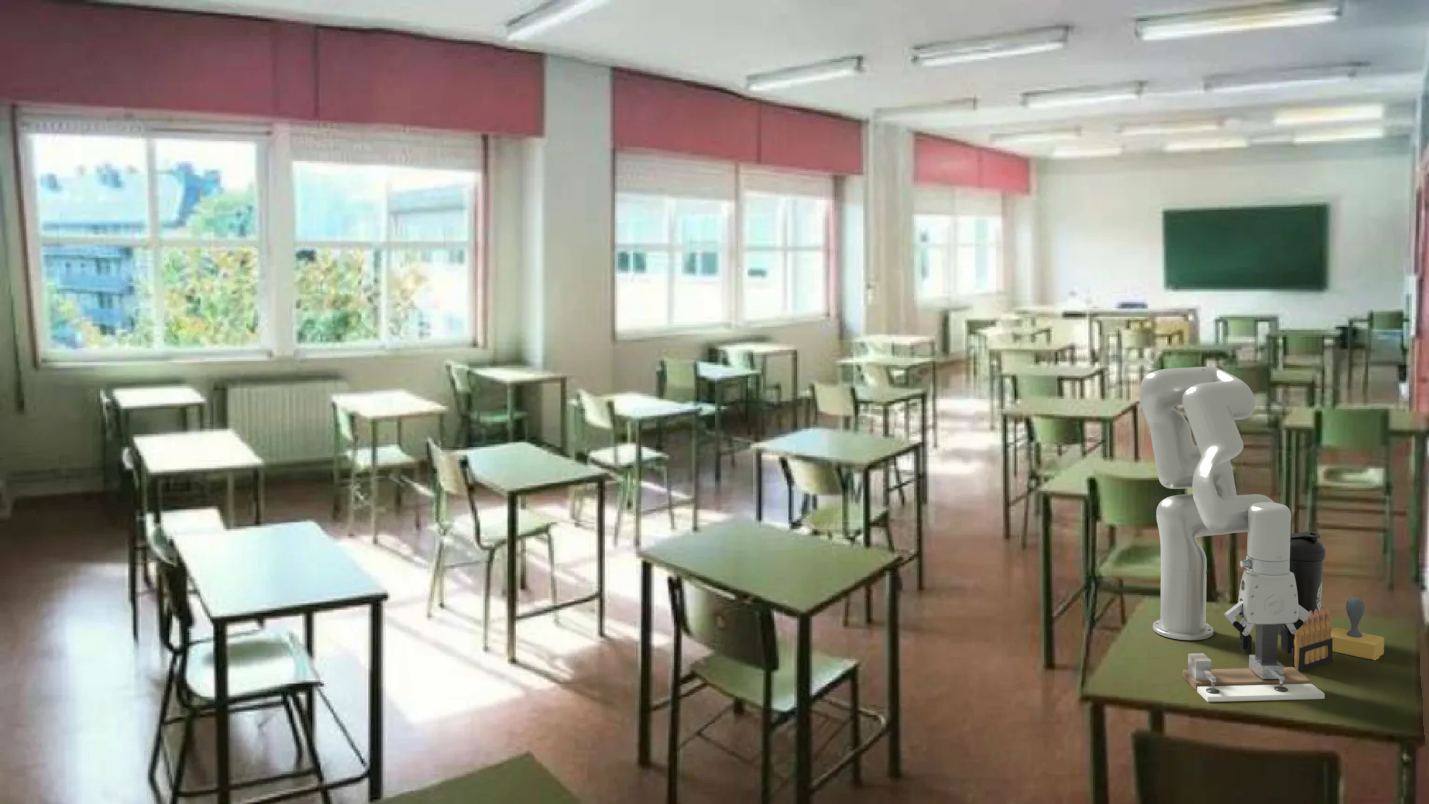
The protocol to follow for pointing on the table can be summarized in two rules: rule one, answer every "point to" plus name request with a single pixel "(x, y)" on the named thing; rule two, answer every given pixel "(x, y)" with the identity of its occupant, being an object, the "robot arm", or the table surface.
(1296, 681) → the divider base
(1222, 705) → the table surface
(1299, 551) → the water bottle
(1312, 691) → the hole plate
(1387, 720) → the table surface
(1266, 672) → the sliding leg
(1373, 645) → the rubber stamp
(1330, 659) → the ammunition clip
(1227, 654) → the table surface
